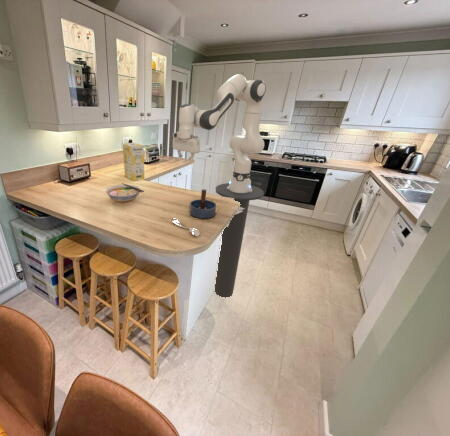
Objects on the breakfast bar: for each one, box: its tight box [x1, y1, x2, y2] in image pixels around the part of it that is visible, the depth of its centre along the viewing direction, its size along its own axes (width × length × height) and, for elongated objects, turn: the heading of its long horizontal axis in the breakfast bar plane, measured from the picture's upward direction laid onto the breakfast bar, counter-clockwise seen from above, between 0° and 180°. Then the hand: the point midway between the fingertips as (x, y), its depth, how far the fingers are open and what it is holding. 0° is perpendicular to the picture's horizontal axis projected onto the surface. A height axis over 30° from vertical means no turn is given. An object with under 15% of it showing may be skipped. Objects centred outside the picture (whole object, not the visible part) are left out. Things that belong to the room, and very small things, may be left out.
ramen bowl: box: [105, 182, 145, 203], centre depth 155 cm, size 25×23×8 cm
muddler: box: [199, 188, 207, 209], centre depth 135 cm, size 4×4×14 cm
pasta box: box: [122, 142, 146, 182], centre depth 199 cm, size 18×10×28 cm, turn 32°
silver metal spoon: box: [171, 217, 201, 237], centre depth 121 cm, size 20×4×5 cm
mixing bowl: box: [189, 198, 217, 219], centre depth 137 cm, size 15×15×6 cm
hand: (185, 158), depth 141 cm, fingers open, 8 cm apart
